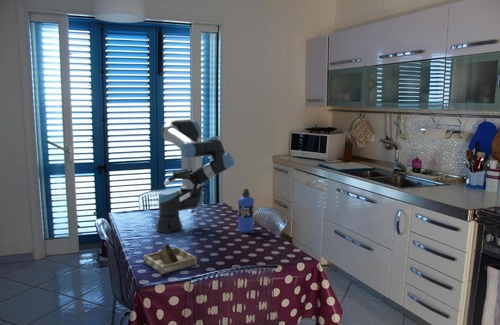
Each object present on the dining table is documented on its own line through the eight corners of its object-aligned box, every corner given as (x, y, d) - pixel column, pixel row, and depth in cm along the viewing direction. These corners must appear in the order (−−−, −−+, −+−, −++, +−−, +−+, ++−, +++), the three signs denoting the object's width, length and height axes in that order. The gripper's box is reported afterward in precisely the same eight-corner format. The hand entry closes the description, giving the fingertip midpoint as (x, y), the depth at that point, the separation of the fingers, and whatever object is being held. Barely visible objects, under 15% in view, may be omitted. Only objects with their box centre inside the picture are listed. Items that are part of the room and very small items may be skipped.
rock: (153, 254, 202) (155, 259, 192) (164, 239, 203) (166, 243, 194) (172, 265, 204) (175, 271, 195) (182, 250, 206) (185, 255, 196)
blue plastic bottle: (252, 233, 244) (252, 191, 240) (236, 232, 246) (236, 190, 242) (255, 228, 253) (255, 187, 249) (239, 227, 255) (239, 187, 251)
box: (144, 262, 200) (143, 255, 200) (177, 253, 211) (177, 246, 211) (161, 274, 186) (161, 266, 186) (196, 264, 198) (196, 257, 197)
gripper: (193, 161, 207) (157, 181, 210) (219, 191, 221) (186, 210, 225) (192, 152, 213) (157, 172, 216) (218, 183, 227) (185, 201, 231)
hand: (172, 192), depth 221 cm, fingers open, 13 cm apart
